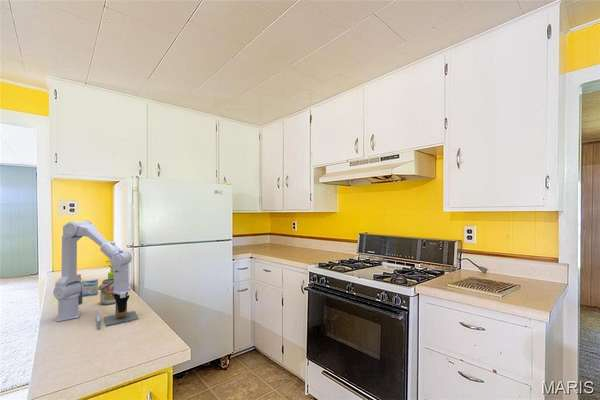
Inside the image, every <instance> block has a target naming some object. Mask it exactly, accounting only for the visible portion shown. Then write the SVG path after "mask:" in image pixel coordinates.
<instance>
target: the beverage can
mask: <svg viewBox="0 0 600 400" xmlns="http://www.w3.org/2000/svg"><path fill="white" fill-rule="evenodd" d="M101 282H102V283H101V284H100V285H98V291H100V304H101V305H102V306H109V305H115V304H116V300H115V299H114V296H113V294H115V293H113V291H114V278H111V279H108V278H106V279H103V280H102V281H101Z"/></svg>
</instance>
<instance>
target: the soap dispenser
mask: <svg viewBox="0 0 600 400" xmlns="http://www.w3.org/2000/svg"><path fill="white" fill-rule="evenodd" d="M105 262H106V263H110V260H107V261H105ZM111 278H114V270H113V266H112V265H111V266H110V271H109V272H108V273H107V279H111Z"/></svg>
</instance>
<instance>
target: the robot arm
mask: <svg viewBox="0 0 600 400" xmlns="http://www.w3.org/2000/svg"><path fill="white" fill-rule="evenodd" d="M83 237H88V238H89V239H90V240H91V241H93V242H94V243H95V244H97V245H98V246H99V247H100V250H99V251H101V252H102V253H103V254H104V255H105V256H106V257H107V258H108V259H109V261H110V262H109V263H110V265H111V266H113V270H114V291H113V293H115V294H113V296H114V299H115V300H116V302H117V306H118V311H119V313H121V312H125V308H126V303H127V304H128V300H129V299H130V294H129V291H132V290H133V289H132V287H130V286H129V285H130V284H129V282H130V281H129V280H130V274H129V273H130V271H129V270H130V269H129V268H130V267H129V266H130V263H131V262H132V258H133V257H132V255H131V253H130V252H129V251H124V250H123V249H121V248H120V246H118V245H116V242H115V241H112V240H111V241H110V240H107V239H106V238H105V237H104V236H103V234H101V233H100V232H99V231H98V229H97V228H96V225H95V224H93V222H91V221H90V220H85V221H84V220H82V221H68V222H67V223H65V224H64V225H63V226H62V236H61V276H60V278H59V279H58V280H56V282H55V283H54V285H55V286H54V288H53V291H52V293H53V296H54V298H55V299H56V301H57V303H58V305H57V308H58V309H57V317H56V319H55V320H56V323H57V322H62V321H68V320H72V319H73V320H74V319H78V318H79V319H80V314H81V313H80V310H79V305H78V296H79V295H80V293H81V292H82V290H83V285H82V282H81V281H82V280H81V278H82V277H79V276H77V274H78V273H77V272H78V264H77V263H78V255H77V254H78V241H79V240H81V239H82V238H83Z"/></svg>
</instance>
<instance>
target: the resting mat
mask: <svg viewBox="0 0 600 400" xmlns="http://www.w3.org/2000/svg"><path fill="white" fill-rule="evenodd" d="M103 318H104V323H105V327H110V326H114V325H115V326H116V325H120V324H124V323H130V322H134V321H138V320H137V319H139V316H138V313H137V312H136V311H135V310H132V311H127V316H122V317H117V318H116V314H112V315H107V316H106V315H105V316H104V317H103ZM133 320H134V321H133Z"/></svg>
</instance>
